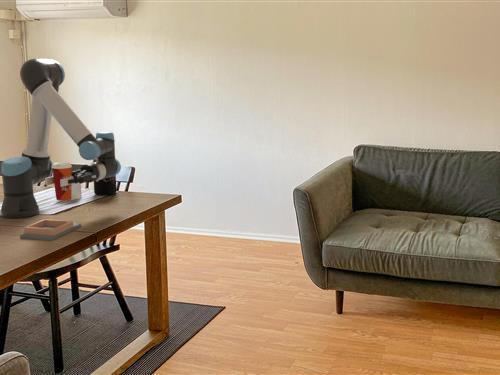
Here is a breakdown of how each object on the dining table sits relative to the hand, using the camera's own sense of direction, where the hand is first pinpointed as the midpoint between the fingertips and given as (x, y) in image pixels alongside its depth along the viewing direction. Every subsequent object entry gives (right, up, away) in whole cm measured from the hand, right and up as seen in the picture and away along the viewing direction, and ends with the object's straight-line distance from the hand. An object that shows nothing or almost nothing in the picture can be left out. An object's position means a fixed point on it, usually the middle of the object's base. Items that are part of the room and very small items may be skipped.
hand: (53, 182), depth 232 cm
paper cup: (+2, -7, +6) cm, 9 cm away
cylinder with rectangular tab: (-9, -7, +56) cm, 57 cm away
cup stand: (0, -19, -2) cm, 19 cm away
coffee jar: (+5, -5, +64) cm, 65 cm away
